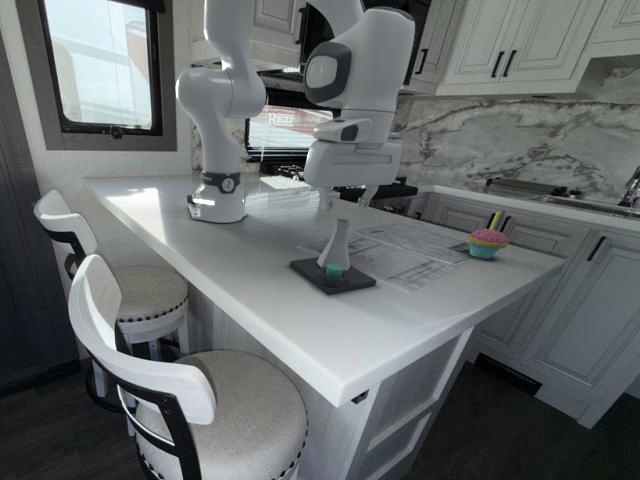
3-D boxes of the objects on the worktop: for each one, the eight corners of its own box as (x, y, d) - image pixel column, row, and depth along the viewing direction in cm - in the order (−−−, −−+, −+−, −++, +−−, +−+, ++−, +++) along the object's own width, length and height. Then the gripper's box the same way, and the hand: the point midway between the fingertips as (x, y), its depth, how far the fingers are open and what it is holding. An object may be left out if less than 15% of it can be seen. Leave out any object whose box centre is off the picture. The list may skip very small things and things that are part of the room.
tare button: (322, 272, 61) (323, 264, 60) (334, 270, 62) (336, 262, 61) (332, 279, 59) (334, 271, 58) (345, 277, 60) (347, 269, 59)
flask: (351, 274, 64) (364, 227, 59) (316, 269, 65) (325, 223, 60) (348, 261, 70) (359, 217, 65) (316, 257, 71) (324, 214, 66)
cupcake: (458, 247, 86) (477, 204, 80) (493, 253, 84) (515, 209, 78) (466, 258, 79) (488, 212, 73) (504, 264, 77) (530, 217, 71)
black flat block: (289, 266, 69) (291, 254, 68) (331, 260, 74) (334, 248, 72) (328, 296, 58) (331, 282, 57) (375, 286, 63) (379, 273, 61)
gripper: (391, 131, 61) (371, 202, 68) (306, 126, 53) (294, 206, 60) (418, 134, 56) (393, 209, 63) (329, 129, 48) (312, 216, 55)
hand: (344, 208), depth 62 cm, fingers open, 8 cm apart
